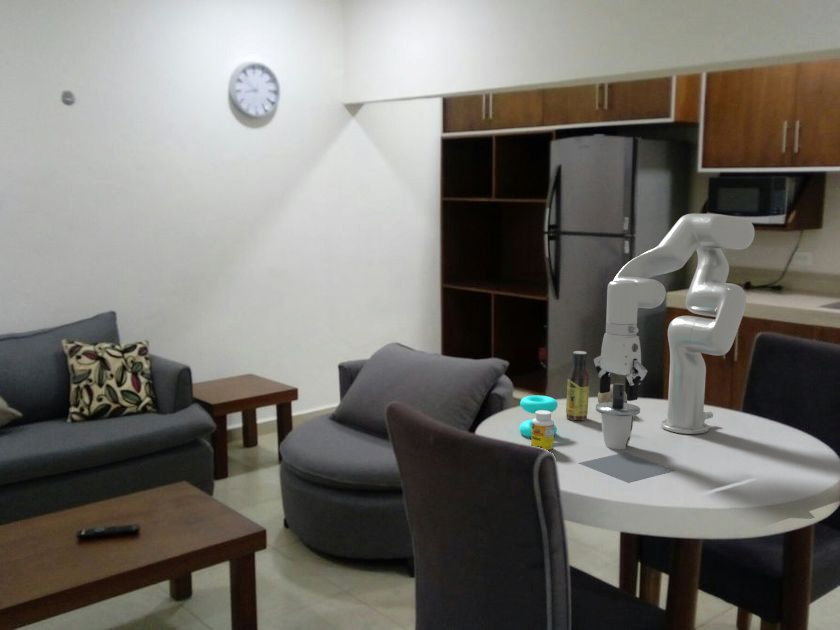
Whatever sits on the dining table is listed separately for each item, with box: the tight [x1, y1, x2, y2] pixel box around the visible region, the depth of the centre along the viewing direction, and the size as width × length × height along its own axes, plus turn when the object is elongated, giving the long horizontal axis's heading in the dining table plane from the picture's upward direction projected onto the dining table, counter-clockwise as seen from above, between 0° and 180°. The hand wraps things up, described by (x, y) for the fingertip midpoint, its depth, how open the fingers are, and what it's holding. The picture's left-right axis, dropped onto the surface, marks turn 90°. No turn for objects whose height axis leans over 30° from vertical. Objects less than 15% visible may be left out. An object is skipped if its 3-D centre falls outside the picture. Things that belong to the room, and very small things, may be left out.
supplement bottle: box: [530, 410, 555, 453], centre depth 208 cm, size 6×6×10 cm
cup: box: [601, 413, 635, 450], centre depth 211 cm, size 8×8×10 cm
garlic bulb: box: [597, 383, 629, 404], centre depth 245 cm, size 9×8×10 cm
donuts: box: [519, 394, 558, 438], centre depth 222 cm, size 10×10×10 cm
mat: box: [578, 452, 677, 484], centre depth 195 cm, size 16×16×1 cm
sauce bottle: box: [565, 350, 590, 422], centre depth 237 cm, size 6×6×20 cm
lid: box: [595, 382, 641, 416], centre depth 209 cm, size 11×11×7 cm
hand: (618, 396), depth 209 cm, fingers open, 9 cm apart
